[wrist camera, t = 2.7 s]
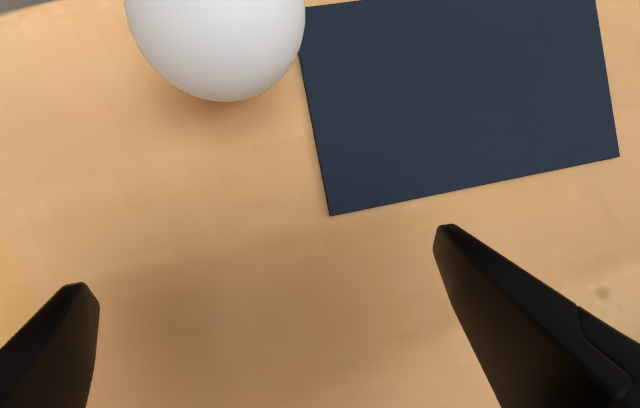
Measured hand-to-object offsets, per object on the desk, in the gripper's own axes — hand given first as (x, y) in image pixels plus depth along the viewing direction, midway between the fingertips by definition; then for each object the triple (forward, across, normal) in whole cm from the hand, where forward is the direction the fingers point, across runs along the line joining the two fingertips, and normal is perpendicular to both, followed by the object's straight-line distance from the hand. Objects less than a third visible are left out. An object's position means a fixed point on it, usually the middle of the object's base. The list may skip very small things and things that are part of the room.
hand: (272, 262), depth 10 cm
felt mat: (+14, -13, +3) cm, 19 cm away
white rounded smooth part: (+15, +1, +1) cm, 15 cm away
